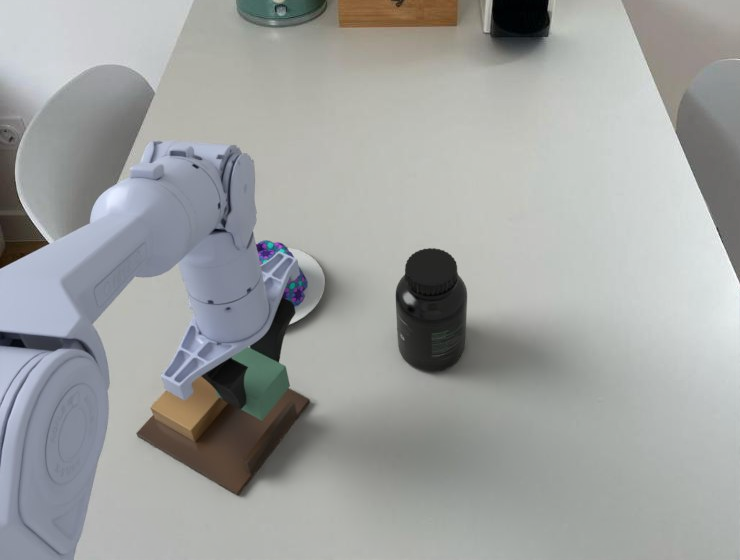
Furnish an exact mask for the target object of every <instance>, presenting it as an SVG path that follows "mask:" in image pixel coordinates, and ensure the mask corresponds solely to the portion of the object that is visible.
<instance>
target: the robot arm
mask: <svg viewBox="0 0 740 560" xmlns="http://www.w3.org/2000/svg"><path fill="white" fill-rule="evenodd" d="M255 192H256V168H255V161H254V159H252V157H251V156H250V154H248V153H246V152H242V151H241V149H240V147H238V145H237V144H226V143H212V142H210V143H209V142H195V141H183V140H165V141H161V140H155V141H154V140H150V141H149V143H148V144H147V146H146V147H145V148H144V151H143V154H142V156H141V159H140V162H138V163H136V164H134V165H132V166H130V168H129V176H127V177H126V178H123V179H122V180H120V181H119V182H118V183H116V184H113V185H112V186H111V187H109V188H107V189H106V190H104V191H103V192H102V194H100V195H99V196H98V198H97V199H96V201H95V202H94V204H93V207H92V209H91V212H90V217H89V223H88V224H85V225H84V226H81V227H79V228H77V229H75V230H74V231H72V232H70V233H68V234H66V235H63V236H62V237H60V238H58V239H56V240H55V241H52V242H50V243H48V244H46V245H45V246H42V247H40V248H39V249H36V250H35V251H32V252H31V253H29V254H26V255H25V256H23V257H21V258H19V259H17V260H15V261H12V262H11V263H9V264H7V265H5V266H3V267H1V268H0V560H75V555H76V552H77V546H78V543H79V542H80V540H81V536H82V535H83V530H84V526H85V521H86V518H87V512H88V508H89V504H90V500H91V496H92V495H91V494H92V490H93V487H94V482H95V477H96V473H97V469H98V465H99V464H98V463H99V461H100V457H101V455H102V452H103V448H104V444H105V441H106V436H107V432H108V431H107V430H108V424H109V413H110V412H109V411H110V400H109V393H108V392H109V391H108V390H109V388H110V384H111V383H110V381H111V380H110V370H109V362H108V357H107V354H106V350H105V346H104V343H103V341H102V338H101V337H100V336H101V335H100V334H99V332H98V331H97V329H96V327H95V326H94V325H93V324H94V323H95V322H96V321H98V319H99V318H100V317H101V316H102V315H103V313H104V312H105V311H106V310H107V309H108V307H109V306H110V305H111V304H112V303H113V302H114V301H115V300H116V299H117V298H118V297H119V295H120V294H122V292H123V291H125V289H126V288H127V287H128V285H129V284H130V283H131V282H132V281H133V280H134V278H135V277H136V278H142V279H143V278H154V277H158V276H162V275H163V274H166V273H167V272H169V271H170V270H172V269H173V268H174V267H175V266H176V265H178V268H179V272H180V275H181V278H182V281H183V284H184V288H185V291H186V294H187V297H188V307H189V309H190V310H191V311H192V313H193V317H192V318H191V320H190V322H189V324H188V326H187V329H186V331H185V333H184V335H183V336H182V338H181V341H180V343H179V345H178V347H177V349H176V352H175V354H174V356H173V357H172V359H171V361H170V362H169V364H168V365H167V367H166V368H165V369H164V370H163V372H162V373H160V378H161V381H162V384H163V386H164V388H165V391H166V390H167V391H168V392H170V393H172V394H173V395H175V396H177V397H179V398H181V399H183V400H184V401H186V400H187V399H188V398H189V397H190V396H191V394H192V393H193V392H194V390H193V387H192V383H193V382H194V380H196V379H197V378H199V377H200V376H201V377H202V378H204V379H205V380H206V381H207V382H208V383H210V384H211V385H212V386H213V388H214V389H215V390H216V391H217V392H218V393H219V395H220V396H221V398H222V399H223V400H224V401H225V402H227V403H229V404H231V405H233V406H235V407H236V408H238V409H242V408H243V407H244V405H245V404H246V393H245V388H244V376H245V373H246V370H247V368H248V367H247V366H245V365H243V364H241V363H239V362H238V361H236V360H234V359H232V358H231V357H232V356H234V355H236V354H237V353H239V352H241V351H242V350H244V349H245V348H247V347H249V348H251V349H253V350H255V351H257V352H259V353H261V354H263V355H265V356H267V357H269V358H271V359H273V360H275V361H277V362H279V363H280V360H281V354H282V347H283V343H284V339H285V336H286V335H285V334H286V332H287V330H288V327H289V326H290V325H289V323H290V321H291V319H292V318H293V316H294V315H295V313H296V312H295V307H294V304H293V303H292V302H291V301H289V300H287V299H285V298H283V297H282V295H283V293H284V290H285V287H286V285H287V282H288V280H289V281H294V280H295V279H296V278H297V277H298V276H299V275H300V272H299V266H298V260H297V259H296V258H294V257H291V256H289V255H287V254H285V253H282V252H280V251H278V252H277V253H276V254H275V255H274V256H273V257H272V258H271V259H269V260H268V261H267V262H265V263H263V264H262V265H260V260H259V256H258V251H257V247H256V244H257V243H256V238H255V234H254V229H255V226H256V224H257V221H258V220H257V219H258V218H257V213H258V211H257V207H256V201H255V200H256V199H255V197H256V195H255Z"/></svg>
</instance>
